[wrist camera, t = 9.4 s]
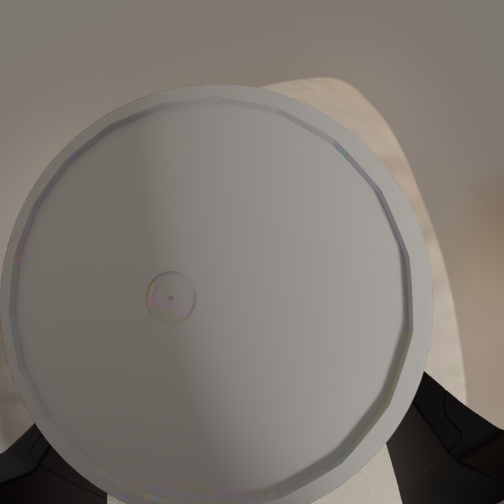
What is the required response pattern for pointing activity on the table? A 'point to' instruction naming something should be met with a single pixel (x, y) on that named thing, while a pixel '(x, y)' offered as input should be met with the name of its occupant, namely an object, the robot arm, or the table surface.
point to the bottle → (216, 300)
